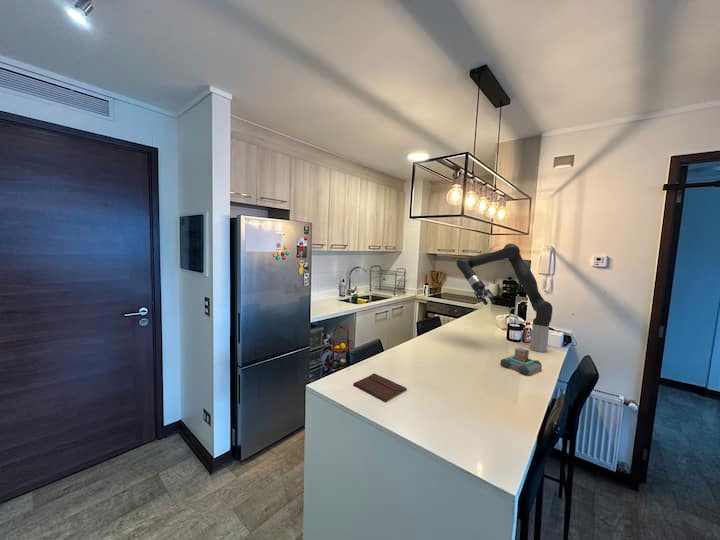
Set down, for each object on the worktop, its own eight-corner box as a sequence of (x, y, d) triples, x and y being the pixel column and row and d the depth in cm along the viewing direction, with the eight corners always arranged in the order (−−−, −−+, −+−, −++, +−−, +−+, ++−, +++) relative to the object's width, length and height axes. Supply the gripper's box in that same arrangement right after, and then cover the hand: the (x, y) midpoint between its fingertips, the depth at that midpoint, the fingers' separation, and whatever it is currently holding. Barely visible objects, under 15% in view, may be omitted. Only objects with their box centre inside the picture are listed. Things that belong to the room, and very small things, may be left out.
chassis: (513, 359, 174) (514, 351, 174) (542, 370, 161) (543, 361, 160) (499, 365, 165) (499, 356, 165) (528, 376, 152) (529, 367, 152)
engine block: (518, 360, 166) (519, 346, 165) (527, 363, 162) (529, 349, 161) (514, 361, 163) (515, 347, 163) (523, 365, 159) (524, 350, 159)
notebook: (385, 403, 123) (386, 399, 122) (353, 386, 136) (353, 382, 136) (406, 391, 133) (406, 387, 133) (374, 376, 147) (374, 372, 147)
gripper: (473, 280, 188) (488, 301, 179) (486, 279, 196) (501, 299, 187) (465, 287, 193) (480, 308, 184) (478, 286, 201) (492, 306, 192)
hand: (490, 303), depth 186 cm, fingers open, 8 cm apart
